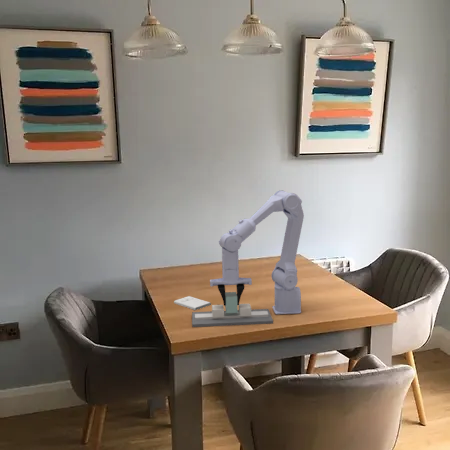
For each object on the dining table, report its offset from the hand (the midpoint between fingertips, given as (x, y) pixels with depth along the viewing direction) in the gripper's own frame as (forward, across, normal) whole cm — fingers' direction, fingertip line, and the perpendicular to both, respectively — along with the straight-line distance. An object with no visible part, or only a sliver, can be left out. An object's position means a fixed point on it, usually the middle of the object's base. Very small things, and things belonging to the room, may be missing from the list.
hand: (231, 304), depth 190 cm
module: (+2, 0, 0) cm, 2 cm away
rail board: (+5, 0, 0) cm, 5 cm away
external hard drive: (+6, +14, -18) cm, 23 cm away
